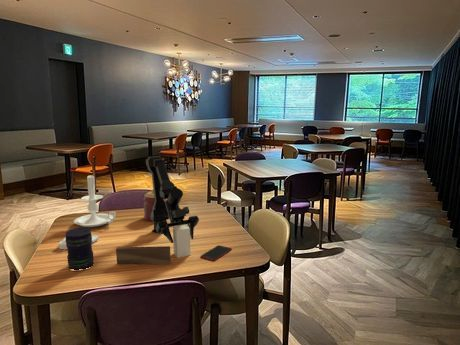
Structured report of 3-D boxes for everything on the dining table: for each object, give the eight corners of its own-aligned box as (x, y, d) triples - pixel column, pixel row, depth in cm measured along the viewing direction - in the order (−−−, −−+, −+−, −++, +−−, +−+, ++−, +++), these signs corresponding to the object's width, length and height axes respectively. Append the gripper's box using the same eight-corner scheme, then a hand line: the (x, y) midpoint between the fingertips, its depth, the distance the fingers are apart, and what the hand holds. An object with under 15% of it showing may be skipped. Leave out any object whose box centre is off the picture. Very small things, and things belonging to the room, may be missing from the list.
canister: (156, 213, 217) (154, 185, 214) (171, 217, 210) (170, 188, 206) (139, 219, 207) (137, 189, 203) (154, 223, 199) (153, 192, 196)
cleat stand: (124, 253, 159) (123, 239, 158) (173, 253, 160) (172, 238, 158) (117, 264, 148) (115, 249, 147) (170, 263, 149) (169, 248, 147)
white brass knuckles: (77, 253, 161) (51, 249, 166) (103, 239, 178) (79, 235, 182) (76, 246, 160) (51, 242, 165) (102, 232, 177) (78, 229, 182)
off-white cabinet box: (173, 253, 159) (172, 227, 157) (186, 251, 162) (185, 224, 159) (177, 257, 155) (176, 230, 152) (190, 255, 157) (189, 228, 155)
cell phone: (199, 258, 155) (199, 256, 155) (218, 246, 167) (218, 244, 167) (214, 262, 151) (214, 260, 151) (232, 250, 163) (232, 248, 163)
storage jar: (68, 273, 141) (64, 237, 138) (68, 263, 150) (65, 229, 147) (94, 268, 145) (92, 233, 142) (93, 259, 154) (90, 226, 151)
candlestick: (104, 233, 184) (100, 180, 179) (65, 228, 192) (60, 177, 186) (127, 221, 203) (124, 173, 198) (91, 217, 211) (87, 170, 206)
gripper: (156, 203, 153) (165, 236, 145) (197, 198, 161) (207, 229, 154) (152, 216, 161) (160, 248, 154) (191, 210, 170) (200, 240, 162)
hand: (182, 241), depth 156 cm, fingers open, 9 cm apart
